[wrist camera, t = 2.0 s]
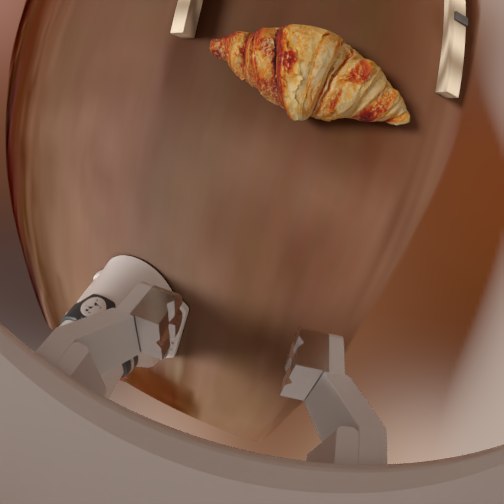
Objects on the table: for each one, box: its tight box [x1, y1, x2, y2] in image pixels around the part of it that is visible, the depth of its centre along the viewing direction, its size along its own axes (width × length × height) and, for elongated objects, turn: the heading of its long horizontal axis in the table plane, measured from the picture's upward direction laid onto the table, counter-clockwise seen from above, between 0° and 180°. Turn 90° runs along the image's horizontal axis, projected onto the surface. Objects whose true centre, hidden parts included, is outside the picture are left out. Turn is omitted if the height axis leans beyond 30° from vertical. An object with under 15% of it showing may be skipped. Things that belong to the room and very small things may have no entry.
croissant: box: [210, 24, 410, 125], centre depth 21 cm, size 21×10×8 cm
